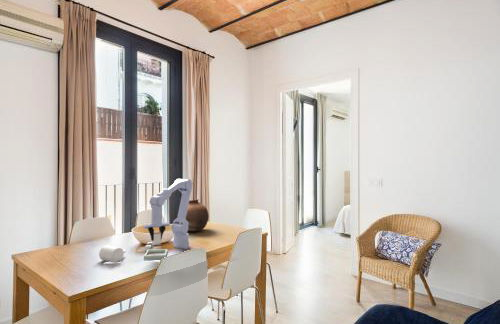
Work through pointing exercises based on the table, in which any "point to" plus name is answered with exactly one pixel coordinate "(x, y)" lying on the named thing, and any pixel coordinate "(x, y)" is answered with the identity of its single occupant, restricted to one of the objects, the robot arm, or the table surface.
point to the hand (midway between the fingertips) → (156, 239)
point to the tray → (155, 255)
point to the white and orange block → (157, 238)
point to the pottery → (196, 215)
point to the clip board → (147, 247)
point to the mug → (111, 253)
